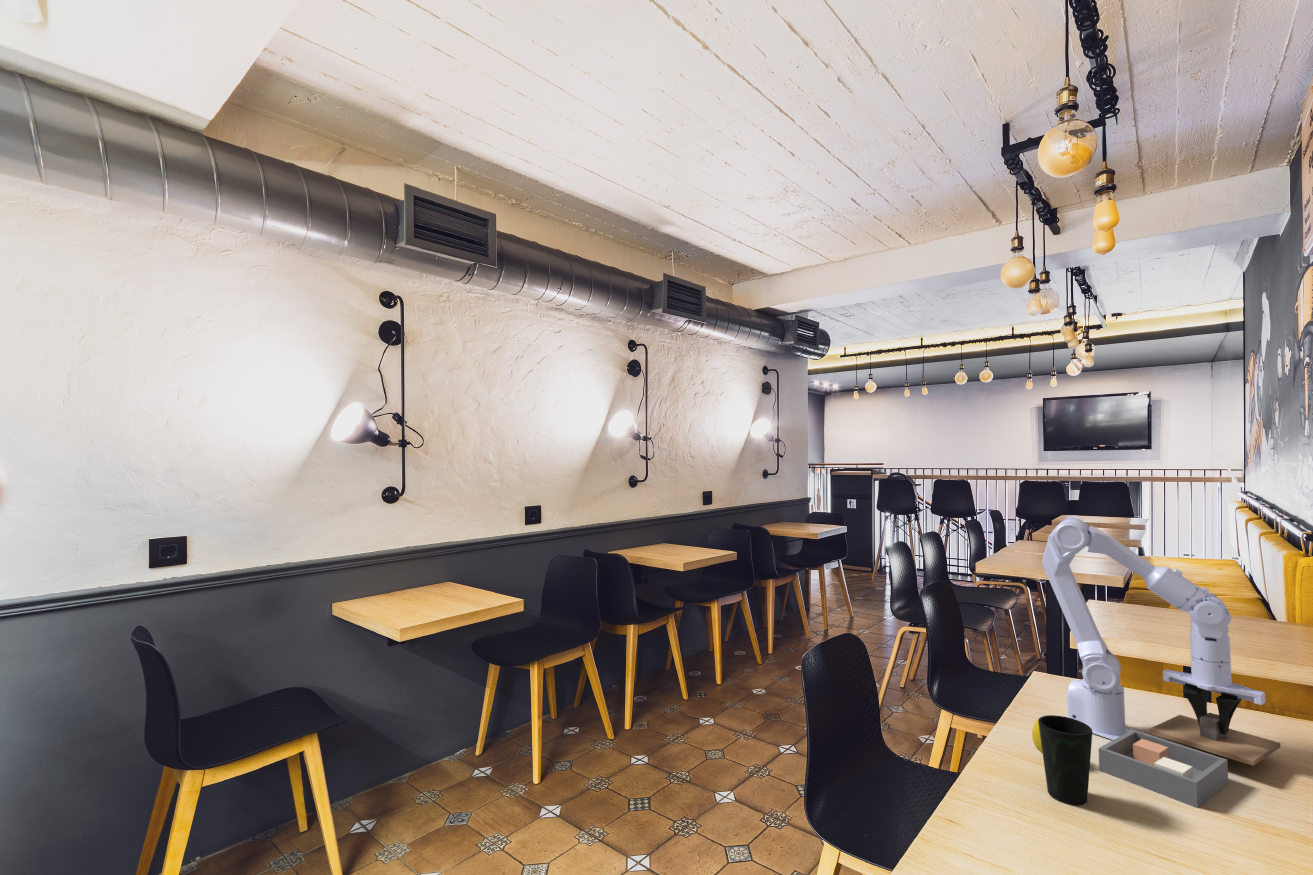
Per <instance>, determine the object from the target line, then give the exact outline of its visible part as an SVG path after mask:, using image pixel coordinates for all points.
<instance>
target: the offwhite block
mask: <svg viewBox="0 0 1313 875" xmlns="http://www.w3.org/2000/svg"><path fill="white" fill-rule="evenodd" d="M1154 766H1156V767H1159V768H1161V769H1164V770H1167V771H1170V772H1173V773H1176V774H1178V775H1181V776H1184V777H1187V778H1190V779H1193V767H1192V766H1189V765H1186V764H1183V763H1181V762H1178V761H1175V760H1172V759H1169V758H1166V757H1163V758H1161V759H1160V760H1158V761H1157V762H1155V763H1154Z"/></svg>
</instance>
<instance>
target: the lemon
mask: <svg viewBox="0 0 1313 875" xmlns="http://www.w3.org/2000/svg"><path fill="white" fill-rule="evenodd" d="M1038 720H1039V718H1038V719H1037V720H1035V722H1034V723H1033V726H1032V729H1031V730H1032V732H1031V736H1032V741H1033V744H1034V747H1035V748H1036V750H1038V752H1040V754H1042V755H1043V753H1042V745H1041V738H1040V730H1039V723H1038Z"/></svg>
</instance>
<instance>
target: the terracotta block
mask: <svg viewBox="0 0 1313 875" xmlns="http://www.w3.org/2000/svg"><path fill="white" fill-rule="evenodd" d="M1163 757H1166V758H1169V748H1168V747H1166V746H1163V745H1160V744H1157V743H1154V742H1151V741H1148V740H1145V739H1141V740H1139V741H1138V742H1136V743H1134V744H1133V758H1134V759H1136V760H1139V761H1141V762H1144V763H1147V764H1150V765H1153V766H1154V763H1155V762H1157V761H1158V760H1160V759H1161V758H1163Z"/></svg>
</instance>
